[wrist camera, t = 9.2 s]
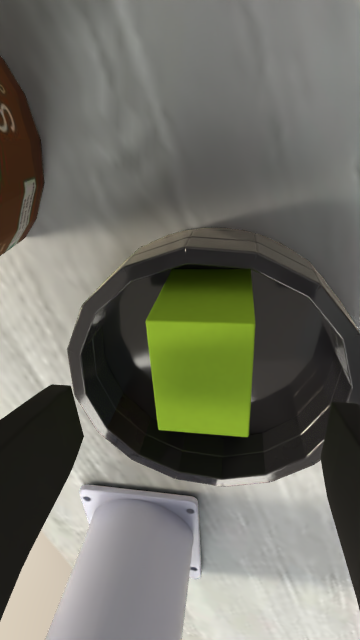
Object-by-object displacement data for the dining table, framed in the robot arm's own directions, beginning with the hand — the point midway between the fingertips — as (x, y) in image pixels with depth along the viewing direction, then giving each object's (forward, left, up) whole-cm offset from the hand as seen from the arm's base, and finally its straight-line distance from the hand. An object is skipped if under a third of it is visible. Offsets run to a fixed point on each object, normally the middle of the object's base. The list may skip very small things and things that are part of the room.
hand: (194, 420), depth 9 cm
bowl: (-2, 0, -7) cm, 7 cm away
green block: (0, 0, -6) cm, 6 cm away
